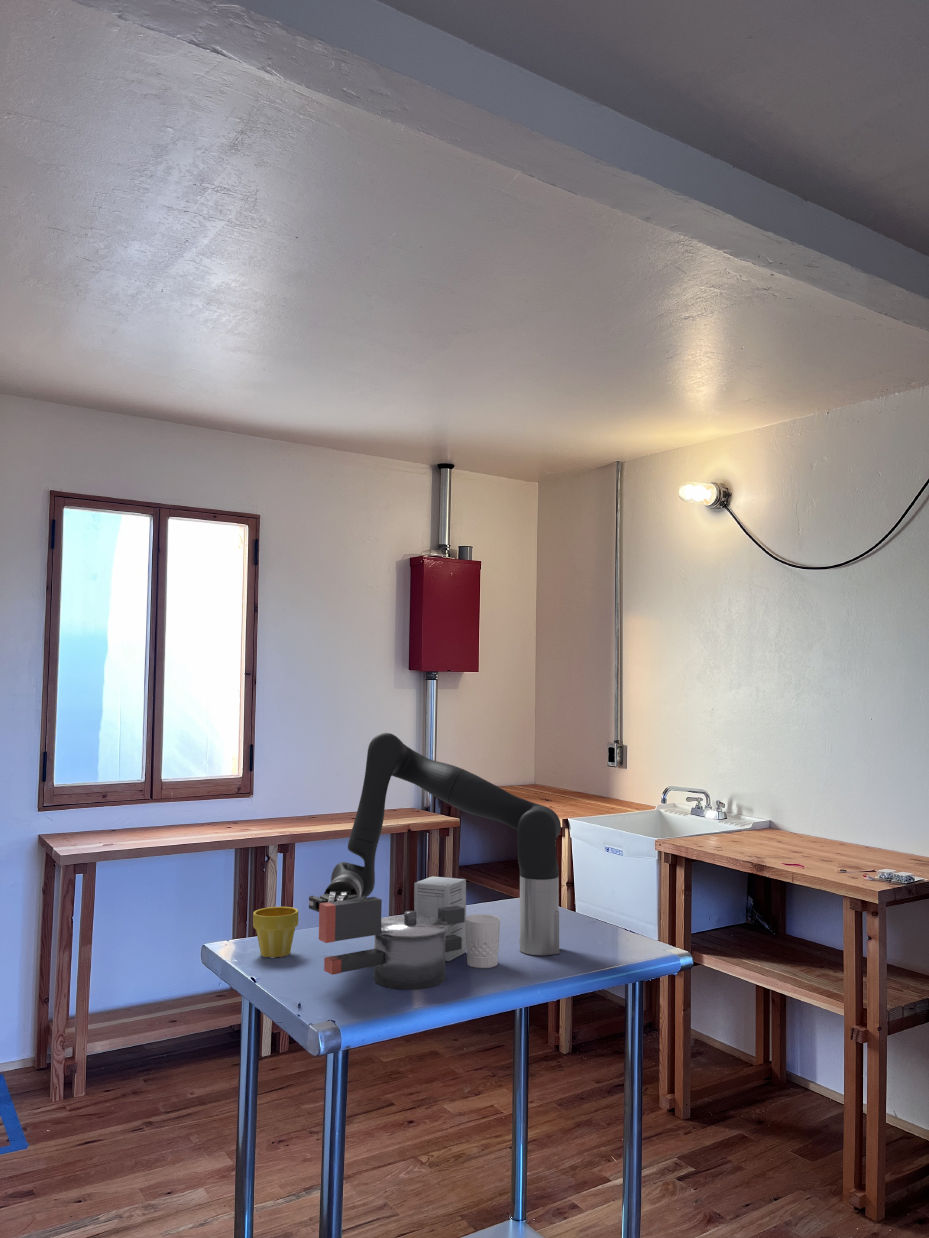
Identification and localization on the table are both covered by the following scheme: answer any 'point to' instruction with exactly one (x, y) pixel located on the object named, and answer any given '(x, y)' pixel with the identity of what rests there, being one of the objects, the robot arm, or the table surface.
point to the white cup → (482, 940)
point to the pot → (400, 961)
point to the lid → (380, 921)
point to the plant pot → (275, 930)
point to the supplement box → (442, 904)
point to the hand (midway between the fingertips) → (331, 912)
